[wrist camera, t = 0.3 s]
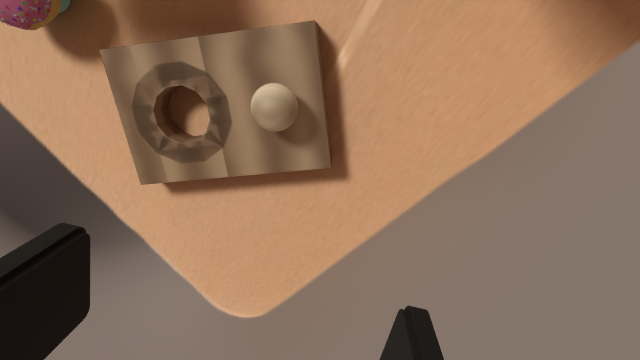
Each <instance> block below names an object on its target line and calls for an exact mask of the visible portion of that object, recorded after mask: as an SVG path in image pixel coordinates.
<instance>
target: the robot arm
mask: <svg viewBox="0 0 640 360" xmlns="http://www.w3.org/2000/svg"><path fill="white" fill-rule="evenodd" d="M89 308H90V236H89V235H88V234H86V231H85V229H84V228H83V227H79V226H75V225H71V224H66V223H60V224H58V225H56V226H54V227H52V228H51V229H49V230H47V231H46V232H44V233H42V234H41V235H39V236H37V237H35V238H34V239H32V240H30V241H29V242H27V243H25V244H24V245H22V246H20V247H18V248H17V249H15V250H13V251H11V252H10V253H8V254H6V255H5V256H3V257H1V258H0V360H44V359H45V358H46V357H47V356H48V355H49V354H50V353H51V352H52V351H53V350H54V349H55V348H56V347H57V346H58V345H59V344H60V343H61V342H62V341H63V339H65V338H66V337H67V336H68V335H69V334H70V333H71V332H72V331H73V330H74V329H75V328H76V327H77V326H78V325H79V324H80V323H81V322H82V321H83V319H84V318H85V317H86V315H87V314H88V311H89ZM380 360H444V358H443V355H442V352H441V349H440V346H439V343H438V340H437V337H436V334H435V331H434V328H433V325H432V321H431V319H430V315H429V313H428V311H427V310H425V309H421V308H416V307H412V306H407V307H406V308H405V310H403V309H400V310H399V312H398V314H397V316H396V319H395V321H394V324H393V327H392V329H391V332H390V335H389V337H388V340H387V342H386V345H385V347H384V350H383V353H382V355H381V358H380Z"/></svg>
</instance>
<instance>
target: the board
mask: <svg viewBox="0 0 640 360" xmlns="http://www.w3.org/2000/svg"><path fill="white" fill-rule="evenodd" d="M99 51H100V54H101V57H102V61H103V64H104V67H105V70H106V73H107V77H108V80H109V83H110V86H111V90H112V93H113V96H114V99H115V103H116V106H117V109H118V112H119V115H120V119H121V122H122V125H123V128H124V132H125V135H126V138H127V141H128V144H129V148H130V151H131V154H132V157H133V161H134V164H135V167H136V170H137V174H138V177H139V180H140V183H141V185H144V184H156V183H167V182H178V181H189V180H201V179H212V178H223V177H234V176H245V175H257V174H268V173H279V172H290V171H302V170H313V169H324V168H331V164H332V153H331V144H330V135H329V126H328V117H327V108H326V98H325V89H324V80H323V71H322V62H321V53H320V44H319V35H318V26H317V22H316V21H307V22H300V23H292V24H285V25H277V26H270V27H263V28H255V29H248V30H241V31H233V32H226V33H219V34H211V35H204V36H197V37H189V38H182V39H174V40H167V41H160V42H152V43H145V44H138V45H130V46H123V47H116V48H108V49H101V50H99ZM269 83H279V84H282V85H285V86H286V87H288V88H289V89H290V90H291V91H292V92H293V93H294V95H295V96H296V98H297V101H298V114H297V117H296V119H295V121H294V123H293V124H292V125H291V126H289V127H288V128H287V129H285V130H282V131H268V130H265V129H263V128H262V127H260V126H259V125H258V124H257V123H256V122H255V120H254V118H253V116H252V114H251V108H250V105H251V100H252V97H253V95H254V93H255V92H256V91H257V90H258V89H259V88H260V87H261V86H263V85H265V84H269ZM180 85H182V86H185V87H187V88H189V89H191V90H194V91H196V92H197V93H198V94H199V95H200V97H201V98H202V99H203V100H204V101H205V103H206V104H207V107H208V112H209V116H210V122H209V125H208V128H207V132H206V134H204V135H201V136H192V135H189V134H187V133H185V132H182V131H181V130H180V129H179V128H178V127H177V126H176V125H175V123H174V122H173V121H172V120H171V116H170V113H169V109H168V103H169V99H170V96H171V93H172V92H173V91H174V90H175V89H176V88H177V87H179V86H180Z"/></svg>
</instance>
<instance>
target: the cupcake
mask: <svg viewBox="0 0 640 360" xmlns="http://www.w3.org/2000/svg"><path fill="white" fill-rule="evenodd" d="M70 2H71V0H0V21H1V22H2V23H3V22H4V23H6V24H7V25H8V24H9V26H11V25H12V26H15V27H18V28H20V29H26V30H36V29H38V28H40V27H43V26H45V25H46V24H48V23H49V22H51V21H52V20H53V19H54V18H55V17H56V16H57V15H58V13H61V12H63V11H65V10H66V9H67V8H68V6H69V5H70Z"/></svg>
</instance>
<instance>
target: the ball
mask: <svg viewBox="0 0 640 360" xmlns="http://www.w3.org/2000/svg"><path fill="white" fill-rule="evenodd" d="M250 108H251V114H252V116H253V118H254V120H255V122H256V123H257V124H258V125H259V126H260V127H262V128H263V129H265V130H268V131H282V130H285V129H287V128H288V127H289V126H291V125H292V124H293V123H294V121H295V119H296V117H297V114H298V101H297V98H296V96H295V95H294V93H293V92H292V91H291V90H290V89H289V88H288V87H286V86H285V85H282V84H279V83H269V84H265V85H263V86H261V87H260V88H259V89H258V90H257V91H256V92H255V93H254V95H253V97H252V100H251V105H250Z"/></svg>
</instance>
